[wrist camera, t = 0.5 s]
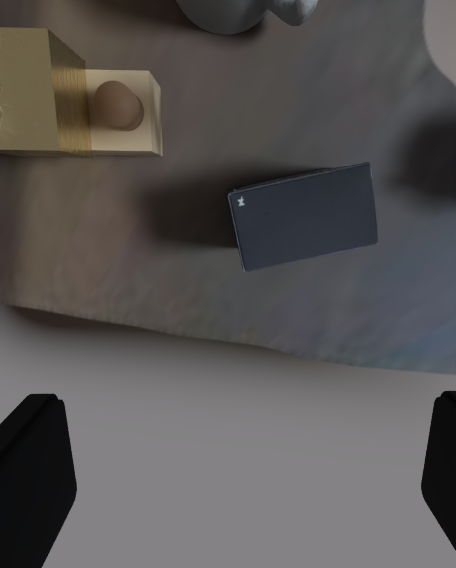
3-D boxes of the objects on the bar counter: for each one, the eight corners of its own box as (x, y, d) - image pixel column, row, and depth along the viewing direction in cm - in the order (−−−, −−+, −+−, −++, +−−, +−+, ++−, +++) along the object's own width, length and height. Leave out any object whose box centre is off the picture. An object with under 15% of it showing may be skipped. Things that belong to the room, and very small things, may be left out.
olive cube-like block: (8, 59, 28) (-49, 26, 22) (85, 61, 28) (47, 28, 22) (21, 156, 30) (-29, 149, 24) (92, 157, 30) (59, 150, 24)
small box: (238, 252, 37) (241, 277, 27) (224, 189, 36) (223, 190, 25) (339, 231, 37) (381, 248, 26) (330, 165, 35) (371, 157, 25)
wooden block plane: (-77, 83, 33) (-170, 52, 25) (160, 87, 33) (139, 57, 25) (-65, 152, 35) (-149, 142, 27) (162, 156, 35) (143, 147, 27)
